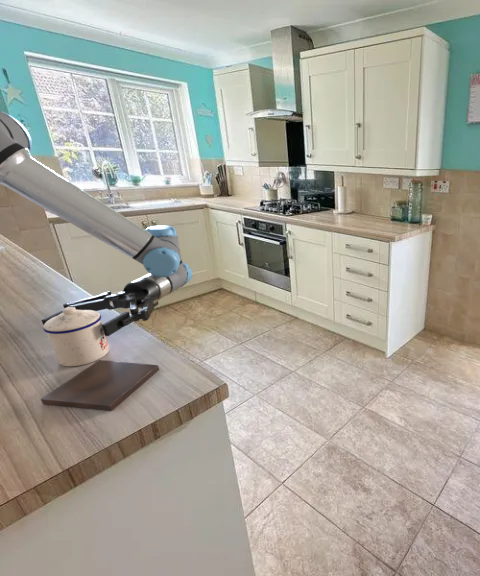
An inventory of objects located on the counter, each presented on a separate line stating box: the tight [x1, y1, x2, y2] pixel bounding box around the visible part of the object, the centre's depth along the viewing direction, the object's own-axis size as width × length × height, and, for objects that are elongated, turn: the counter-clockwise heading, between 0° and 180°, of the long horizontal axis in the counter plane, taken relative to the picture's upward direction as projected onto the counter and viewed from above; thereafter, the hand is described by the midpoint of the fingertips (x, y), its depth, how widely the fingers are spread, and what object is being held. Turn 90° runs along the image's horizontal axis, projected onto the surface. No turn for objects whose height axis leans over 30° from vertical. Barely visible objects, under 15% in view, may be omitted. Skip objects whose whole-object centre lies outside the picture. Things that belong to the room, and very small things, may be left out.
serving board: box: [40, 359, 160, 412], centre depth 64 cm, size 13×12×1 cm
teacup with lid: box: [43, 307, 111, 367], centre depth 71 cm, size 12×9×12 cm
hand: (74, 328), depth 71 cm, fingers open, 13 cm apart
